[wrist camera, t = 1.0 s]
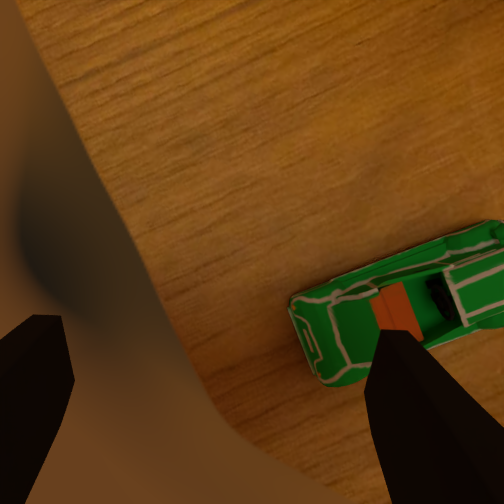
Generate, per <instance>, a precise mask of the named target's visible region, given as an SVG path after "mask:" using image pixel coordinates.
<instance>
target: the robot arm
mask: <svg viewBox="0 0 504 504" xmlns="http://www.w3.org/2000/svg"><path fill="white" fill-rule="evenodd" d="M74 382H75V379H74V375H73V370H72V365H71V361H70V356H69V351H68V346H67V342H66V337H65V332H64V328H63V323H62V319H61V316H57V315H32V316H30V317H29V318H28V319H26V320H25V321H24V322H22V323H21V324H20V325H18V326H17V327H16V328H15V329H13V330H12V331H11V332H9V333H8V334H7V335H6V336H4V337H3V338H2V339H1V340H0V504H25V502H26V500H27V498H28V495H29V493H30V491H31V489H32V487H33V485H34V483H35V480H36V478H37V476H38V474H39V472H40V470H41V467H42V465H43V463H44V461H45V458H46V457H47V454H48V452H49V450H50V448H51V446H52V443H53V441H54V439H55V437H56V435H57V432H58V430H59V427H60V426H61V423H62V420H63V417H64V414H65V411H66V408H67V405H68V402H69V399H70V395H71V392H72V389H73V385H74ZM364 395H365V401H366V407H367V413H368V419H369V424H370V429H371V435H372V438H373V441H374V445H375V448H376V452H377V455H378V458H379V462H380V465H381V468H382V472H383V475H384V478H385V481H386V485H387V488H388V491H389V494H390V498H391V501H392V504H504V427H503V426H501V425H500V424H499V423H498V422H497V421H496V420H495V419H494V418H493V417H492V416H491V415H490V414H489V413H488V412H487V411H486V410H485V409H484V408H483V407H482V406H481V405H479V404H478V403H477V402H476V401H475V400H474V399H473V398H472V397H471V396H470V395H469V394H468V393H467V392H466V391H465V390H464V389H463V388H462V387H461V385H460V384H459V383H458V382H457V381H456V380H455V379H454V378H453V377H452V376H451V375H450V374H449V373H448V372H447V371H446V370H445V369H444V368H443V367H442V366H441V365H440V364H439V363H438V362H437V361H436V359H435V358H434V357H433V356H432V355H431V354H430V353H429V352H428V351H427V350H426V349H425V348H424V347H423V346H422V345H421V344H420V343H419V341H418V340H417V339H416V338H415V337H414V336H413V335H412V334H411V333H410V332H409V331H408V330H389V329H381V331H380V335H379V338H378V342H377V346H376V349H375V353H374V357H373V360H372V364H371V368H370V371H369V375H368V379H367V382H366V386H365V390H364Z"/></svg>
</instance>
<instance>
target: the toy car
mask: <svg viewBox="0 0 504 504" xmlns="http://www.w3.org/2000/svg"><path fill="white" fill-rule="evenodd" d="M289 305H290V306H289V307H287V309H288V312H289V314H290V317H291V319H292V322H293V325H294V327H295V330H296V332H297V335H298V337H299V340H300V343H301V345H302V348H303V350H304V353H305V355H306V358H307V360H308V363H309V366H310V368H311V371H312V373H313V375H316V376H317V378H318V380H319V381H320V382H321V383H322V384H323V385H325V386H327V387H341V386H347V385H350V384H353V383H355V382H358V381H360V380H361V379H363V378H365V377H366V376H368V375H369V371H370V368H371V364H372V360H373V357H374V353H375V349H376V346H377V342H378V338H379V335H380V331H381V329H389V330H408V331H409V332H410V333H411V334H412V335H413V336H414V337H415V338H416V339H417V340H418V341H419V343H420V344H421V345H422V346H423V347H424V348H425V349H426V350H429V349H431V348H434V347H437V346H439V345H442V344H445V343H447V342H450V341H453V340H455V339H458V338H461V337H463V336H466V335H469V334H471V333H474V332H477V331H479V330H482V329H499V328H503V327H504V220H497V221H496V220H484V221H482V222H479V223H476V224H474V225H471V226H468V227H466V228H463V229H461V230H458V231H456V232H453V233H450V234H448V235H445V236H442V237H440V238H437V239H435V240H432V241H429V242H427V243H424V244H422V245H419V246H416V247H414V248H411V249H409V250H406V251H403V252H401V253H398V254H396V255H393V256H390V257H388V258H385V259H383V260H380V261H377V262H375V263H372V264H370V265H367V266H364V267H362V268H359V269H356V270H354V271H351V272H349V273H346V274H343V275H341V276H338V277H336V278H333V279H330V281H328V282H325V283H323V284H320V285H317V286H315V287H312V288H310V289H307V290H305V291H302V292H299V293H297V294H294V295H293V296H292V297H291V298H290V300H289Z"/></svg>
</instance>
